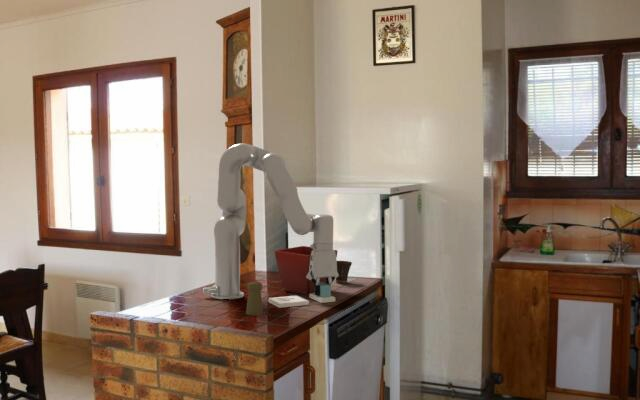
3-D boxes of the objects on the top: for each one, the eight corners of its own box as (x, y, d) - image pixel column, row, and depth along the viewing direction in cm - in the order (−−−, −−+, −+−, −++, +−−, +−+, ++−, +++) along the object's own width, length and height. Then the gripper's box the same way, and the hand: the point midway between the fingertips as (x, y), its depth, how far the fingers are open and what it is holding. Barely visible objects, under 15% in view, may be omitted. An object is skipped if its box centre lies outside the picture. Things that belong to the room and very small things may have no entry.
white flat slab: (279, 307, 211) (279, 303, 211) (268, 302, 220) (268, 297, 220) (308, 304, 217) (308, 300, 217) (297, 299, 226) (297, 295, 226)
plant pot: (309, 298, 229) (310, 255, 228) (273, 291, 240) (273, 250, 239) (338, 290, 244) (338, 250, 243) (302, 284, 255) (302, 245, 254)
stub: (321, 302, 219) (321, 287, 219) (309, 297, 228) (309, 282, 228) (335, 301, 222) (335, 285, 222) (323, 296, 231) (323, 281, 231)
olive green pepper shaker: (254, 310, 207) (255, 279, 207) (266, 313, 203) (267, 281, 203) (242, 313, 202) (242, 281, 202) (254, 316, 199) (254, 284, 198)
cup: (324, 281, 260) (327, 258, 260) (339, 281, 266) (342, 259, 266) (338, 285, 253) (341, 262, 253) (352, 285, 259) (356, 263, 259)
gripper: (307, 249, 217) (307, 298, 218) (346, 247, 225) (345, 294, 226) (299, 246, 224) (298, 294, 225) (337, 244, 231) (336, 291, 232)
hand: (322, 294), depth 225 cm, fingers closed on stub, 3 cm apart
